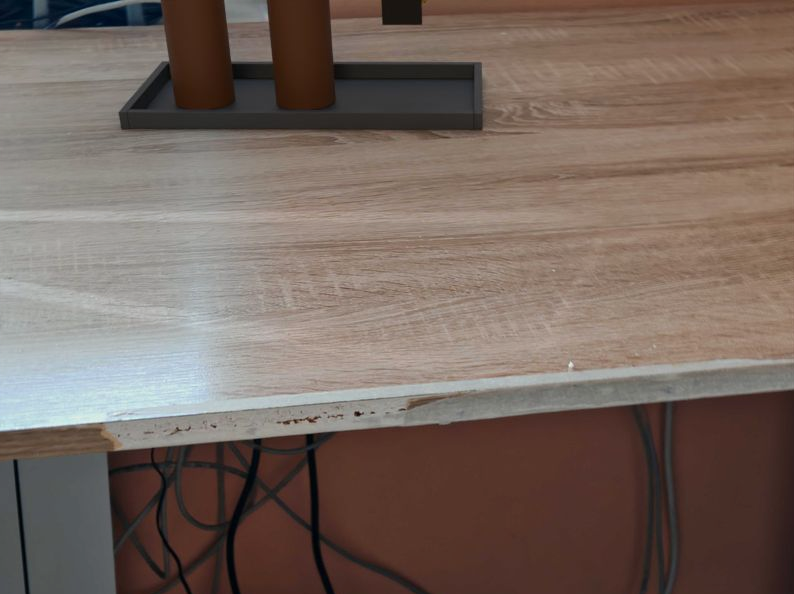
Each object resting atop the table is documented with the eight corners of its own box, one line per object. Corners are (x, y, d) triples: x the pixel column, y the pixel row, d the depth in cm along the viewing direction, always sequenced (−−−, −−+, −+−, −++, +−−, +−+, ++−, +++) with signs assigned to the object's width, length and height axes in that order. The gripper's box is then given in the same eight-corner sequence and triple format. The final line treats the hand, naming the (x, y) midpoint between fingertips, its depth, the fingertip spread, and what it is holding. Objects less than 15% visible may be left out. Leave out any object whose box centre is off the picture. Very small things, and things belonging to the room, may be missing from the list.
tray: (122, 136, 76) (118, 112, 75) (165, 83, 86) (161, 61, 85) (482, 137, 76) (482, 112, 75) (481, 84, 86) (481, 61, 85)
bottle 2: (271, 110, 79) (253, -76, 72) (281, 91, 82) (264, -88, 76) (332, 110, 79) (319, -76, 72) (338, 91, 82) (327, -87, 76)
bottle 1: (168, 110, 79) (141, -76, 72) (182, 91, 82) (158, -88, 76) (229, 110, 79) (207, -76, 72) (240, 91, 82) (220, -88, 76)
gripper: (451, -391, 57) (455, 48, 69) (456, -372, 73) (459, -18, 85) (309, -391, 57) (338, 48, 69) (345, -372, 73) (363, -18, 85)
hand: (404, 11), depth 77 cm, fingers closed on lemon, 6 cm apart
